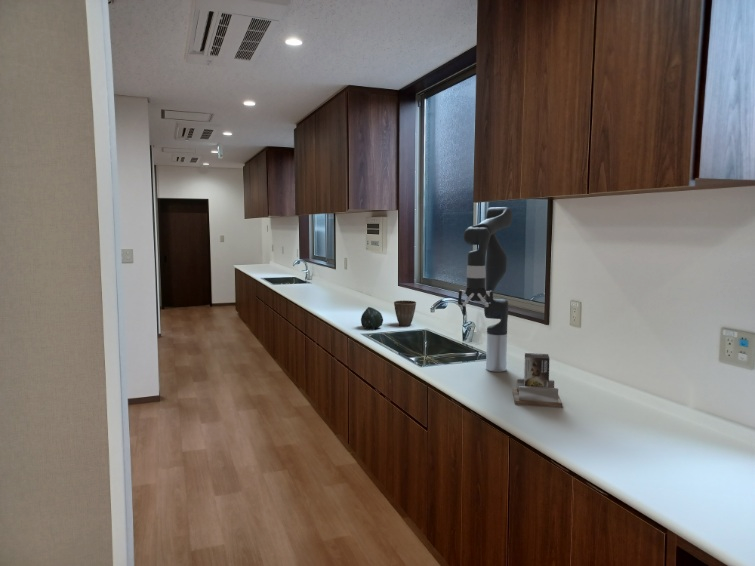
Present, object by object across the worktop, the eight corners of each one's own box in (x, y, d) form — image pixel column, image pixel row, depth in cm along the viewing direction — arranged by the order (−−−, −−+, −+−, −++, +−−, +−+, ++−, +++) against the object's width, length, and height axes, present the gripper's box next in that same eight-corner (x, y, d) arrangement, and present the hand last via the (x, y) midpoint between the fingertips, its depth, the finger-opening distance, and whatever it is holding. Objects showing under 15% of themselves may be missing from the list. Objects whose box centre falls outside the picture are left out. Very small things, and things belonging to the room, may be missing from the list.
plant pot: (419, 326, 347) (419, 303, 345) (398, 328, 342) (398, 304, 340) (411, 322, 361) (411, 300, 359) (390, 324, 356) (390, 301, 355)
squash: (387, 318, 349) (372, 301, 348) (386, 323, 334) (370, 305, 333) (372, 331, 351) (357, 315, 350) (369, 337, 336) (354, 320, 336)
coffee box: (547, 394, 204) (549, 353, 202) (548, 399, 197) (550, 357, 196) (523, 392, 206) (524, 352, 204) (523, 397, 200) (525, 356, 198)
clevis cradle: (512, 392, 210) (513, 377, 209) (556, 395, 207) (557, 379, 206) (515, 404, 196) (515, 387, 196) (562, 407, 193) (563, 390, 192)
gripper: (493, 275, 216) (492, 314, 218) (458, 275, 219) (458, 313, 221) (494, 277, 209) (493, 317, 210) (458, 277, 211) (457, 316, 213)
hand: (475, 315), depth 215 cm, fingers open, 8 cm apart
